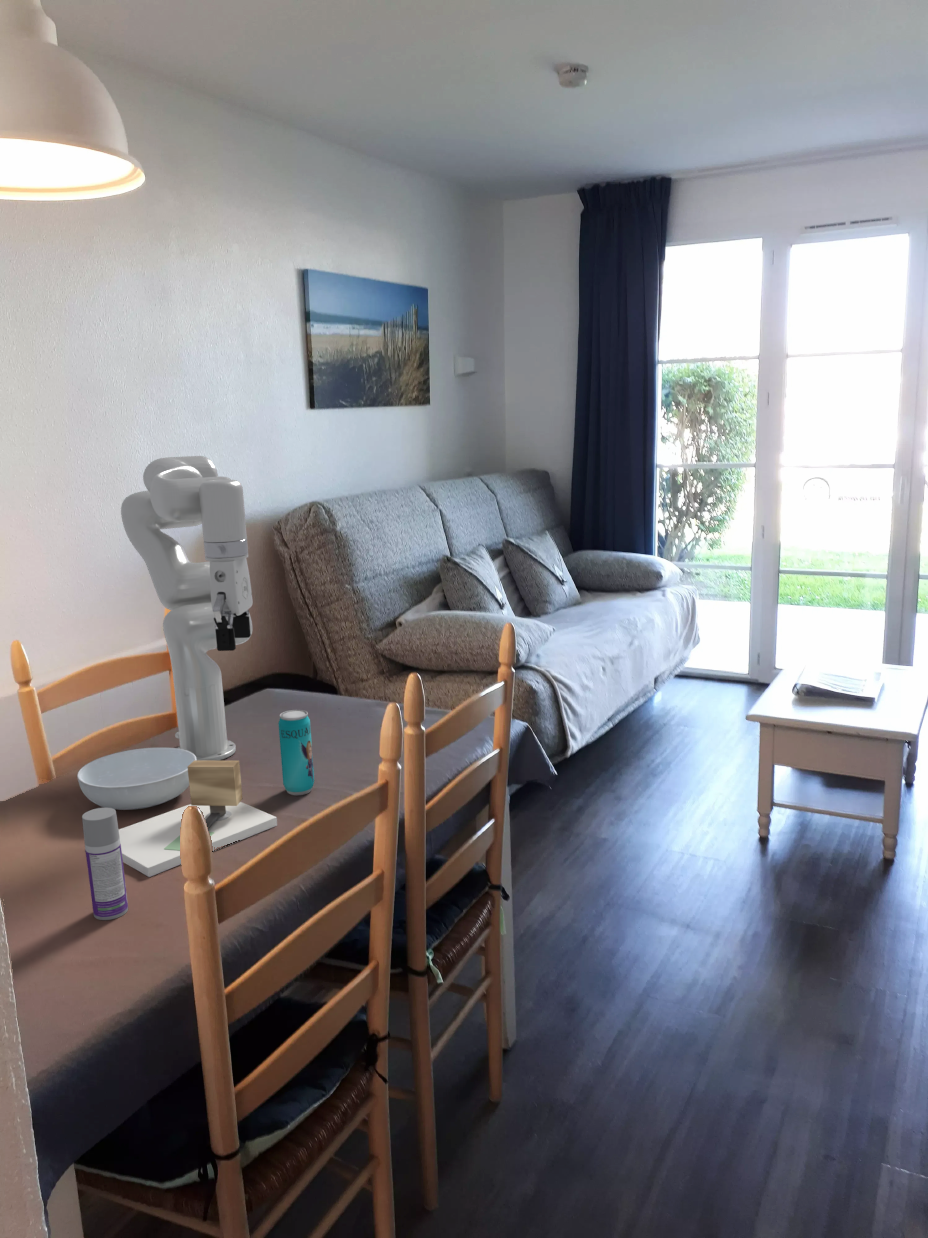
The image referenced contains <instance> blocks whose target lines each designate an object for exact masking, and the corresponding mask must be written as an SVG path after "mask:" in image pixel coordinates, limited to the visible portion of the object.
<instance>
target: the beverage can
mask: <svg viewBox="0 0 928 1238" xmlns="http://www.w3.org/2000/svg"><path fill="white" fill-rule="evenodd" d="M308 715H309V712H308V711H307V710H304V709H292V710H291V709H290V710H286V711H283V712H281V713H280V714H279V721H278V723H277V725H278V735H279V749H280V761H281V774H282V784H283V786H284V789H285V791H286V793H287V794H289V795H291V796H303V795H306V794H309V793H310V792H311V791H312V790H313V786H314V784H315V770H314V757H313V743H312V742H313V741H312V731H311V730H312V728H311V719H310V717H309V716H308Z"/></svg>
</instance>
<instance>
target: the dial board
mask: <svg viewBox="0 0 928 1238" xmlns="http://www.w3.org/2000/svg"><path fill="white" fill-rule="evenodd" d="M188 806H191V803H190V804H187V805H184V806H181V807H179V808H176V809H172V810H170V811H167V812H165V813H161V814H159V815H156V816H152V817H150V818H147V819H144V820H142V821H139V822H137V823H133V824H131V825H128V826H125V827H122V828H118V829H119V836H120V843H121V851H122V859H123V864H126V865H128V866H129V867H131V868H133V869H134V870H136V871H138V872H139V873H141V874H143V875H145V876H147V877H148V878H150V877H153V876H155V875H157V874H161V873H162V872H166V871H168V870H171V869H172V868H174V867H178V866H180V865H182V864H181V859H180V827H181V819H182V814H183V812H184V810H185V809H186V808H187V807H188ZM197 807H199V808H200V810H201V811H202V812H203V815H204V818H205V820H206V819H207V818H208V816H209V815H210V806H197ZM225 807H226V814H225V815H223V816H220V817H219V818H218V819H217V820H216V821H215V822H214V824H213V825H212V826H211V827H210V828H209V830H208V831H209V833H210V836H211V840H212V846H213V852H215V851H214V847H215V849H216V848H217V847H221V846H224V845H227V844H230V843H232V844H234V843H233V842H235V841H237V842H239V841H238V840H240V841H242V840H244V839H248V838H249V837H252V836H255V835H257V834H259V833H263V832H265V831H267V830H269V829H273V828H274V827H277V826H278V818H277V816H275V815H272V814H270V813H267V812H265V811H264V810H260V809H259V808H256V807H254V806H251V805H249V804H246V803H244V802H242V801H241V802H240V803H239V804H238V805H237V806H225ZM235 843H236V842H235ZM230 845H231V844H230Z"/></svg>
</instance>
